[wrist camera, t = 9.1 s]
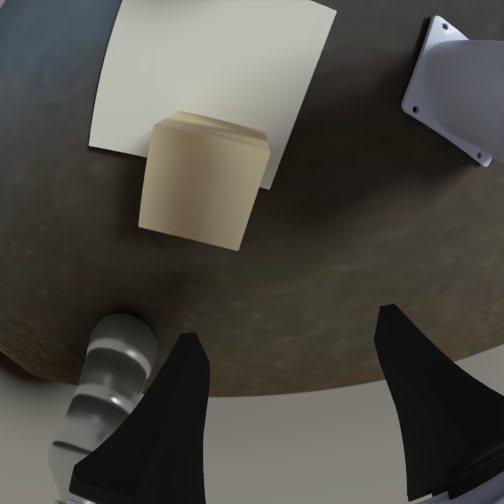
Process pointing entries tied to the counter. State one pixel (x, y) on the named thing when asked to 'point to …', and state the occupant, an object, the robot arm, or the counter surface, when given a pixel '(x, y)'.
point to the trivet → (208, 68)
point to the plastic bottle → (102, 393)
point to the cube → (202, 178)
